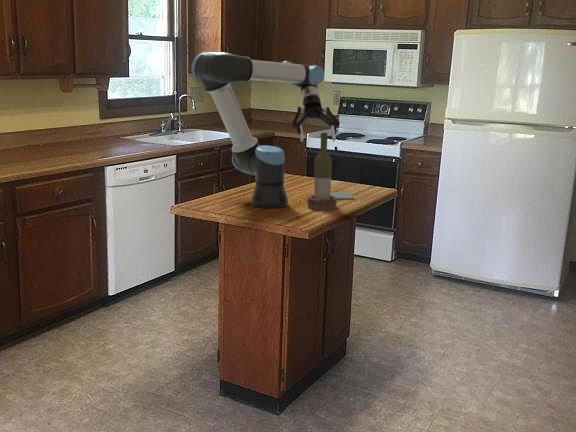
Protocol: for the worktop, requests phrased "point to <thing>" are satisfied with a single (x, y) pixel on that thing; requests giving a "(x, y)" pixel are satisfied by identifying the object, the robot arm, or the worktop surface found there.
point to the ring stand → (322, 203)
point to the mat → (342, 195)
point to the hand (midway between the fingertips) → (318, 139)
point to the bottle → (322, 171)
